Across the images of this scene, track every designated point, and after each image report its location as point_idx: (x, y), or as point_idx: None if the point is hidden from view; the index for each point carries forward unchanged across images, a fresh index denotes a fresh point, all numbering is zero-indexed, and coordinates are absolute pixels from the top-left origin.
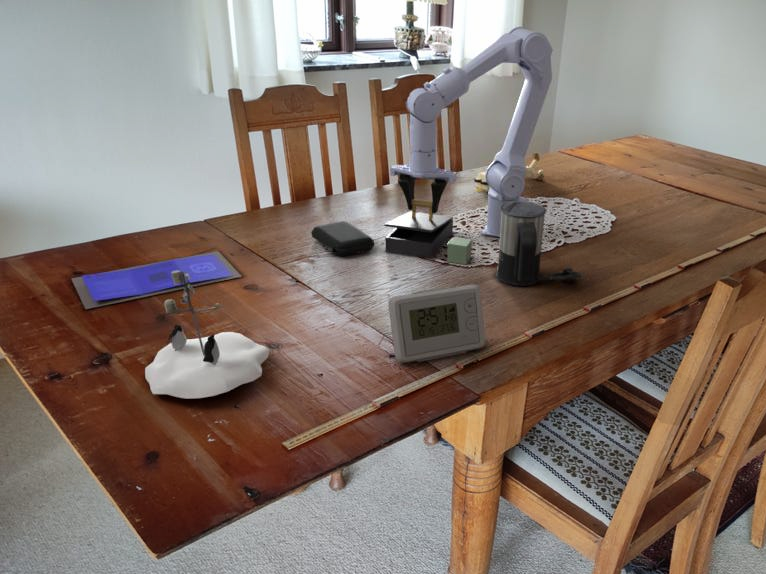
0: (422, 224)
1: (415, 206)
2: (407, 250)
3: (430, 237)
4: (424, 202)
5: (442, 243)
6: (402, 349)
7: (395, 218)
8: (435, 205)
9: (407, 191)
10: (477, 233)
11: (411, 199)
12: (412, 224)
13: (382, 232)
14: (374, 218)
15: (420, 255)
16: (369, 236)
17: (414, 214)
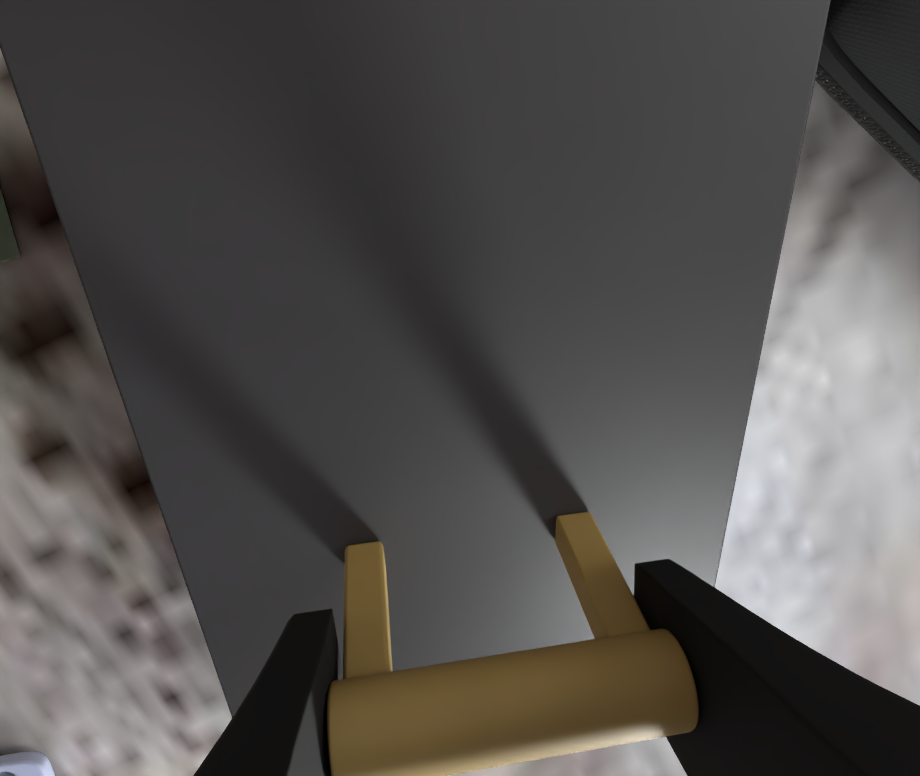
0: (333, 279)
1: (602, 632)
2: None
3: None
4: (478, 712)
5: None
6: None
7: (756, 371)
8: (248, 694)
9: (874, 751)
10: (99, 756)
11: (708, 697)
12: (451, 174)
13: (792, 439)
14: (909, 634)
15: None
16: (892, 34)
17: (574, 547)
